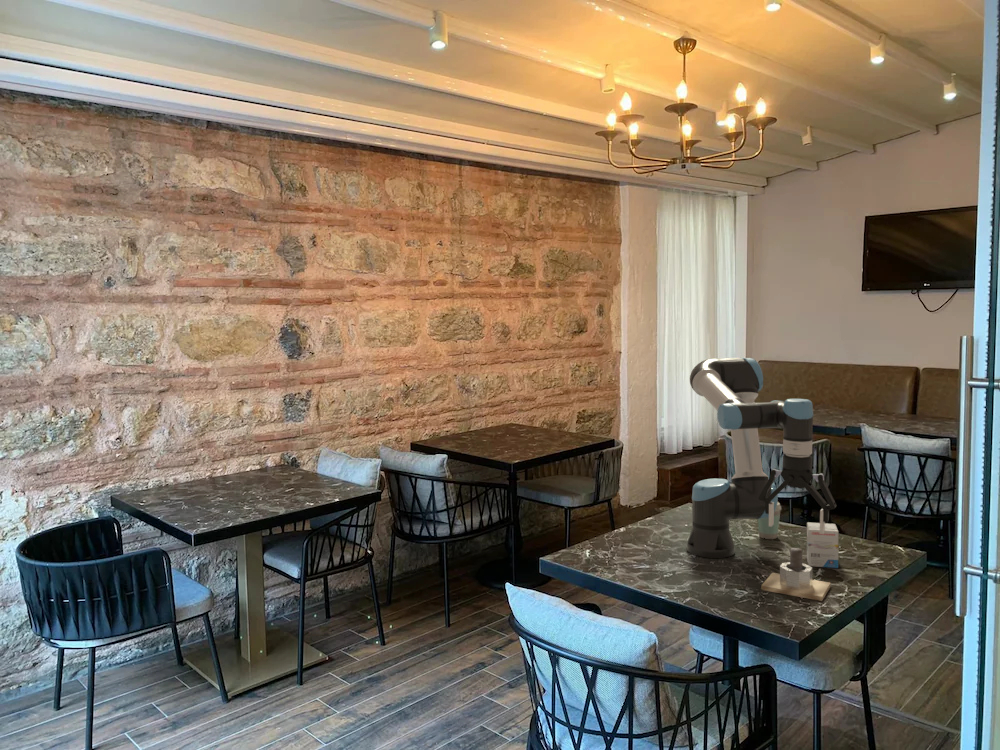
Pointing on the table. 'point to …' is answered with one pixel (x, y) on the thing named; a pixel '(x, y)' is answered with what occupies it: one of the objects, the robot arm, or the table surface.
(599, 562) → the table surface
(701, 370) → the robot arm
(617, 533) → the table surface
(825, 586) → the post block
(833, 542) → the ink box
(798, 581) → the ring
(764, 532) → the coffee cup
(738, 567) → the table surface
